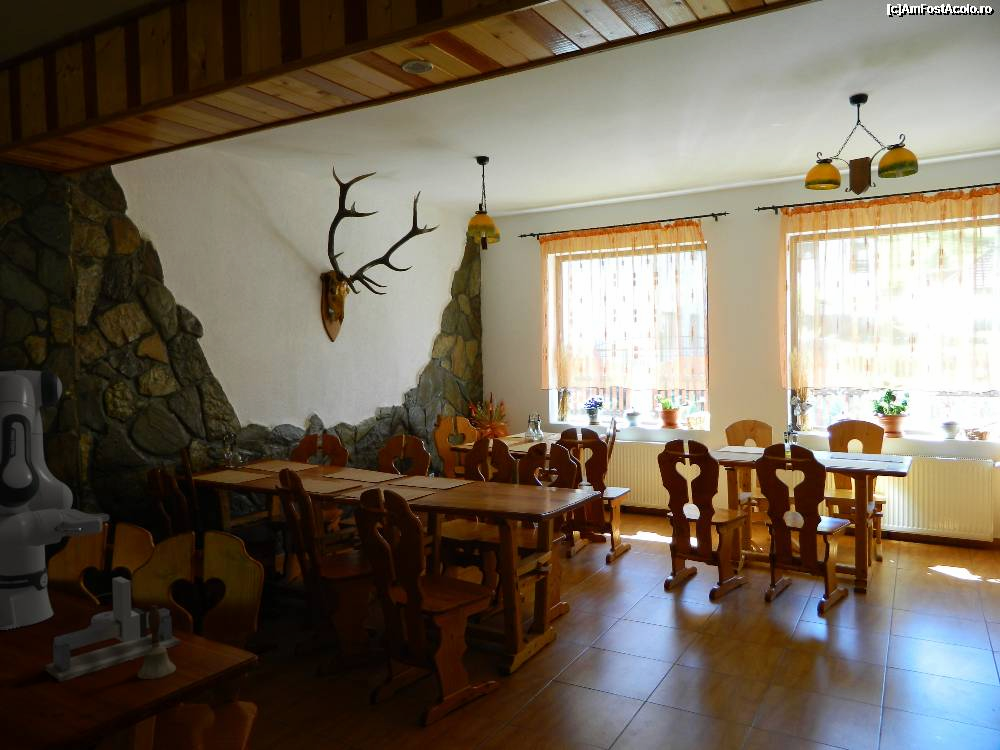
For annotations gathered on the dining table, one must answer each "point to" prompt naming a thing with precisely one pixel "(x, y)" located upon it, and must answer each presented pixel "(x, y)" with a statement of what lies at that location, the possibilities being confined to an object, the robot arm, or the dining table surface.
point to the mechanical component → (101, 619)
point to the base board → (108, 657)
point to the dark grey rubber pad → (142, 622)
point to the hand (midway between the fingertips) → (107, 516)
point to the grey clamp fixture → (100, 638)
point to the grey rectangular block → (125, 610)
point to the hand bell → (155, 652)
